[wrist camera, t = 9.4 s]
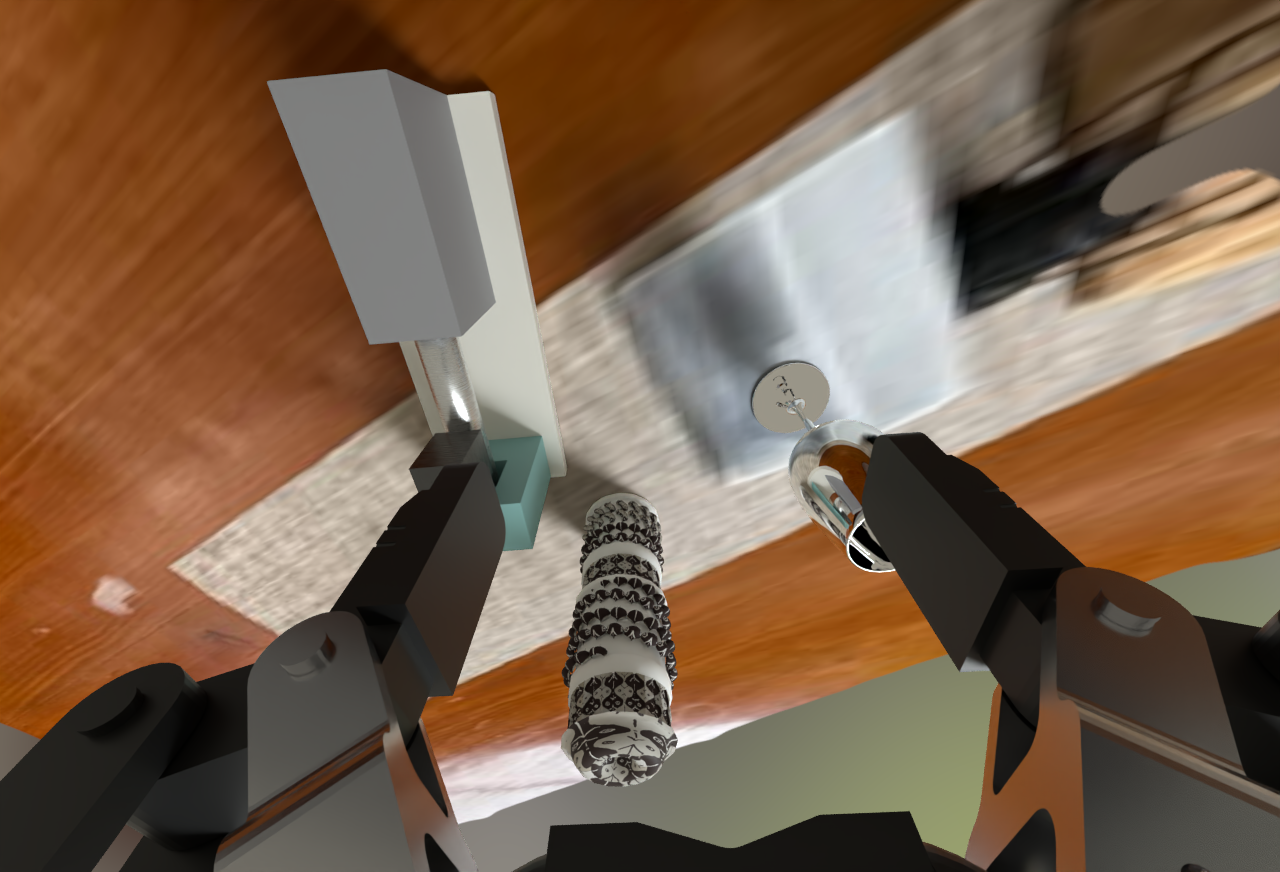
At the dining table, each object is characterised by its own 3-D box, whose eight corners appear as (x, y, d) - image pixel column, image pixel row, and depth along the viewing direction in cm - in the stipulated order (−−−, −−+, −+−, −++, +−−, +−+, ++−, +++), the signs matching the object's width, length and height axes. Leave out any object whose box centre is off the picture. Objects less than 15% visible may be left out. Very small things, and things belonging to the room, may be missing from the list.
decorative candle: (587, 555, 55) (562, 806, 33) (576, 493, 50) (537, 738, 28) (664, 549, 55) (689, 797, 33) (659, 486, 50) (684, 727, 28)
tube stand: (327, 110, 33) (211, 86, 23) (494, 94, 32) (442, 63, 23) (455, 477, 49) (415, 548, 39) (567, 468, 48) (553, 537, 39)
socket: (450, 443, 45) (405, 512, 36) (542, 435, 45) (520, 503, 36) (464, 483, 47) (425, 557, 38) (550, 475, 47) (532, 548, 38)
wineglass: (809, 439, 47) (915, 593, 30) (738, 424, 46) (806, 575, 29) (844, 370, 44) (987, 501, 26) (768, 352, 43) (865, 476, 25)
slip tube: (392, 251, 32) (329, 272, 25) (444, 246, 32) (394, 266, 25) (472, 493, 42) (443, 554, 36) (511, 489, 42) (489, 550, 36)
